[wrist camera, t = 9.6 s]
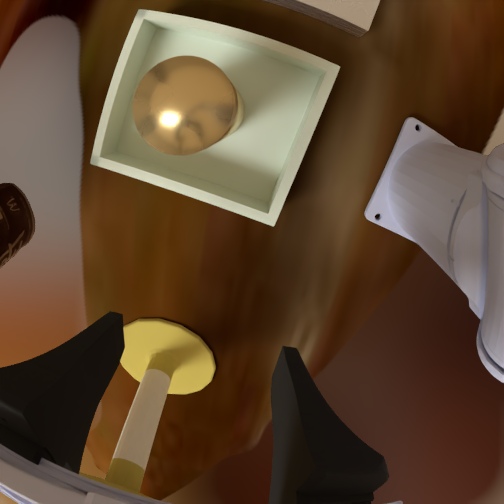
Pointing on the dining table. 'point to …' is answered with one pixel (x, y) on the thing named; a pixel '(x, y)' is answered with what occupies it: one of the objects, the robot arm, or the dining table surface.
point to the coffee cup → (14, 221)
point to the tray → (249, 132)
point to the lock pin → (186, 106)
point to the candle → (154, 390)
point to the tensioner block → (336, 12)
